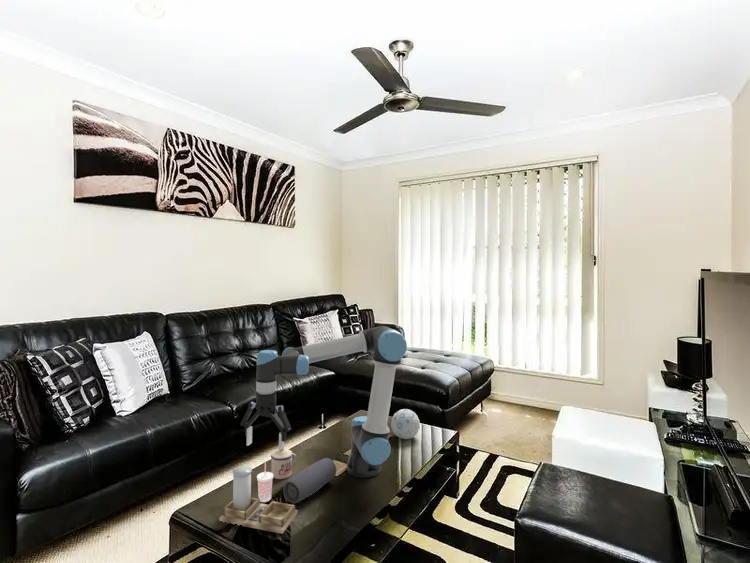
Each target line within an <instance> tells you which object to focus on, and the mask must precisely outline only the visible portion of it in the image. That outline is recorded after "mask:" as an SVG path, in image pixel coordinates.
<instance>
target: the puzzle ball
mask: <svg viewBox="0 0 750 563" xmlns="http://www.w3.org/2000/svg"><path fill="white" fill-rule="evenodd" d="M390 422H391V423H390V425H391V426H390V427H391V431H392V432H393V434H394V435H396V436H397V437H398V438H400V439H401V440H410V439H412V438H414V437H415V436H416V435H417V434H418V432H419V430H420V427H421V426H420V424H421V423H420V419H419V417H418V415H417V414H416V412H415V411H413V410H412V409H408V408H403V409H402V408H401V409H399V410H397V411H396V412H395V413H394V414H393V416H392V417H391V421H390Z"/></svg>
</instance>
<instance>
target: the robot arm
mask: <svg viewBox="0 0 750 563" xmlns="http://www.w3.org/2000/svg"><path fill="white" fill-rule="evenodd" d="M407 345H408V344H407V341H406V338H405V337H404V335H403V334H402V333H401V332H399V331H398V330H396V329H393V328H390V327H388V326H385V325H379V326H376V327H372V328H367V329H365V330H360V331H359V333H356V334H352V335H348V336H343V337H338V338H334V339H329V340H325V341H321V342H317V343H316V342H315V343H311V344H307V345H302V346H299V347H294V346H293V347H292V346H291V347H290V346H289V347H287V348H285V349H284V350H283V351H282V353H281V355H278V351H277V350H273V349H264V350H260V351H259V352H258V353H257V355H256V373H255V374H256V383H255V392H256V393H255V401H254V400H252V401H251V402H249V403H248V405H247V410H246V412H245V413H244V416H243V417H242V420H241V421H240V423H239V425H240V427H244V436H245V437H246V446H247V447H248V446H250V445H251V444H253V426H252V424H253V423H254V422H255V421H256V420H257V418H258V417H259V416H260V417H265V418H269V419H271V420H272V421H273V423H274V424H275V426H276V427H277V428H278V430H279V434H278V449H279V451H281V450H282V449H283V448H284V449H285V442H286V440H287V433H288V432H290V431H291V430H292V426H291V423H290V421H289V419H288V417H287V414H286V411H285V406H284V404H281V405H277V380H278V378H277V377H278V376H280V377H281V376H302V375H307V374H308V373H309V370H310V364H312V363H316V362H320V361H324V360H331V359H333V358H337V357H342V356H343V357H344V356H346V355H351V354H356V353H360V352H363V353H366V354H367V353H371V352H373V354H372V362H373V363H374V370H373V377H372V383H371V389H370V396H369V402H368V408H367V415H365V416H364V415H361V416H356V417H354V418H353V419H352V420H351V425H350V427H351V429H350V430H351V434H350V435H351V436H350V438H351V441H350V442H351V443H350V454H349V457H348V459H347V462H346V471H348V472H347V473H348V474H349V475H350V476H352V477H356V478H359V479H360V478H361V479H363V478H364V479H369V478H372V477H373V478H374V477H376V476H377V475H379V474H380V473H381V471H382V464H383V463H384V462H385V461H387V460H388V458H389V456H390V454H391V452H392V451H391V450H392V449H391V444H390V442H389V438H390V429H391V428H389V426H388V421H389V414H390V408H391V401H392V394H393V388H394V382H395V377H396V376H395V375H396V369H397V367H399V366H401V362H402V358H403V357H404V356H405V354H406V352H407V349H408V346H407ZM254 408H255V410H256V412H254V414H253V416H252V417H251V418H250V416H251V414H252V413H253V410H254Z"/></svg>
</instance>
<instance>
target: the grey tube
mask: <svg viewBox="0 0 750 563" xmlns="http://www.w3.org/2000/svg"><path fill="white" fill-rule="evenodd" d="M252 472H253V469H252V467H251V466H249V465H242V466H241V465H240V466H237V467H235V468H234V469H233V470H232V475H233V476H232V478H233V483H232V484H233V486H232V489H233V490H232V500H233V509H235V510H241V511H246V510H247V509H248V508H249V507H250V506H251V496H252Z"/></svg>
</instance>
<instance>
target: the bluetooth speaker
mask: <svg viewBox="0 0 750 563" xmlns="http://www.w3.org/2000/svg"><path fill="white" fill-rule="evenodd" d="M336 474H337V466H336V464H335V462H334V461H333V459H332V458H328V457H324V458H322V459H320V460H318V461H316V462H314V463H312V464H311V465H308V466H307V467H306V468H304V469H303V470H301V471H299V472H298V473H297V474H295V475H294V476H292V477H290V478H289V479H288V480H287V481H286V482H285V483H284V485H283V489H282V491H283V496H284V498H285V500H286V501H287V502H289V504H290V503H291V504H292V505H295V504H297V503H300V502H301V501H303V500H306V499H305V498H307V497H308V496H310V495H311V494H313V493H314V492H316V491H317V490H318V491H320V490H321V489H322V488H323V487H324V486H325V485H326V484H328V482H330V481H331V480H333V478H334V477H335V476H336ZM319 489H320V490H319ZM318 491H317V492H318ZM317 492H316V493H317ZM313 495H314V494H313ZM310 497H311V496H310ZM307 499H308V498H307Z"/></svg>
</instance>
